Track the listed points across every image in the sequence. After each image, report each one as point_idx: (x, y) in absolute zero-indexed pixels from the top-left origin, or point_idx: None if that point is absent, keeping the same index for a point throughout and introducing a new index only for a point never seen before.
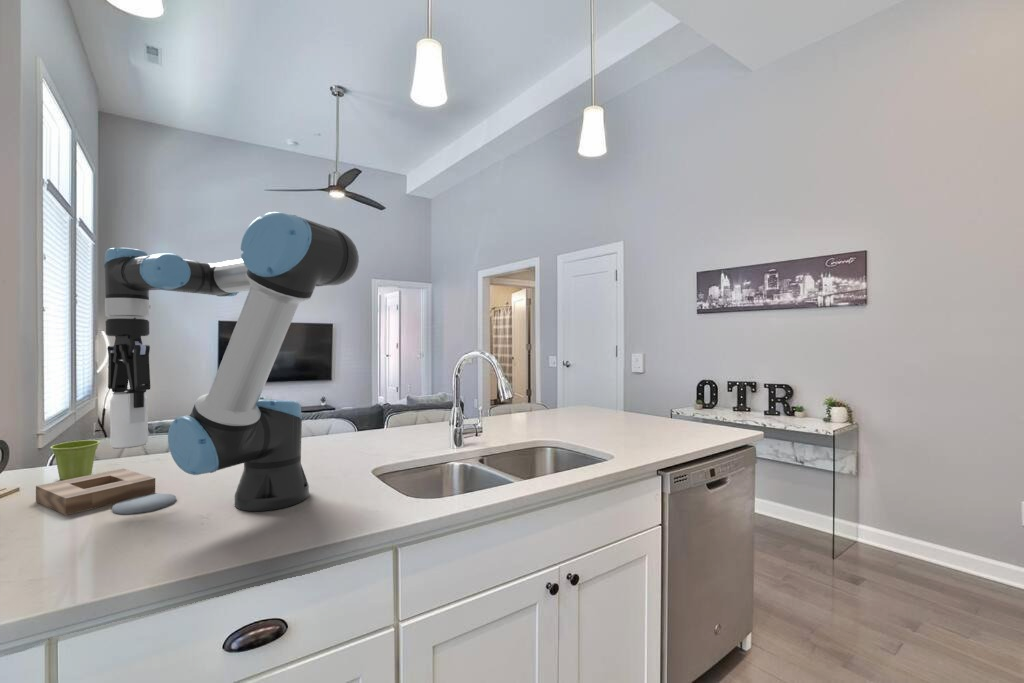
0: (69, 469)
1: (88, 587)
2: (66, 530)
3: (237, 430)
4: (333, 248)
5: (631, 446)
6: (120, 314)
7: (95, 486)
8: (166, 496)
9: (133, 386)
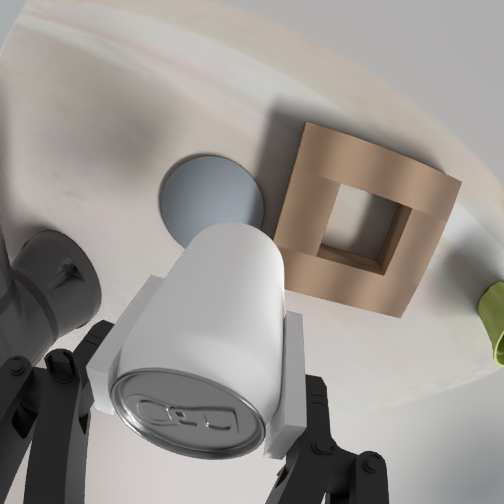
0: (500, 294)
1: (31, 24)
2: (213, 71)
3: None
4: None
5: None
6: None
7: (389, 244)
8: None
9: (43, 392)
